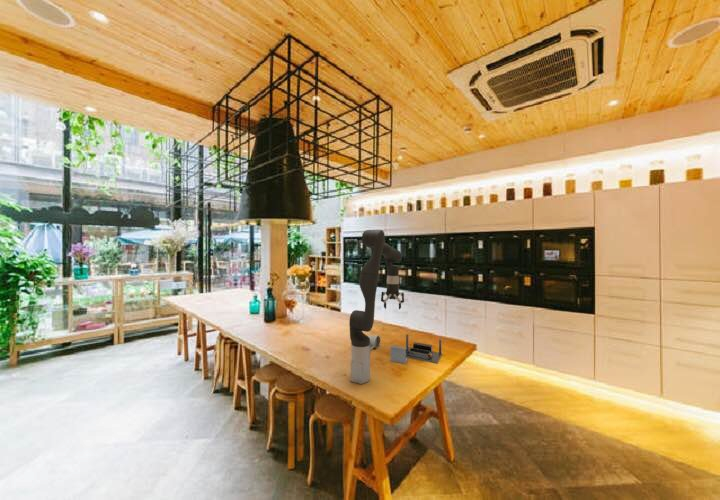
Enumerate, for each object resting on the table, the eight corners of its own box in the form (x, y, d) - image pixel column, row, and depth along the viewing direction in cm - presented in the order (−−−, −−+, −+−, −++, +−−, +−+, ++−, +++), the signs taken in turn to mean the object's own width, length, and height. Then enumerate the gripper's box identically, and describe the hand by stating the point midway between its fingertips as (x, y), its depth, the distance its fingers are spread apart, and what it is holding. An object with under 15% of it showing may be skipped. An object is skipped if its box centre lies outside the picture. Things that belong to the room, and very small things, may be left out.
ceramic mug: (369, 343, 179) (369, 332, 178) (380, 346, 174) (380, 334, 174) (361, 349, 169) (361, 337, 169) (373, 351, 165) (373, 339, 165)
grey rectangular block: (405, 364, 148) (405, 349, 148) (390, 360, 152) (390, 346, 152) (407, 361, 151) (407, 347, 151) (392, 358, 155) (392, 345, 155)
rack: (437, 363, 148) (437, 347, 148) (399, 356, 158) (399, 340, 158) (441, 354, 161) (441, 339, 161) (406, 348, 171) (406, 334, 171)
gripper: (380, 283, 164) (380, 309, 164) (404, 283, 162) (404, 310, 162) (381, 281, 171) (381, 307, 171) (404, 282, 169) (403, 308, 169)
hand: (392, 308), depth 167 cm, fingers open, 8 cm apart
